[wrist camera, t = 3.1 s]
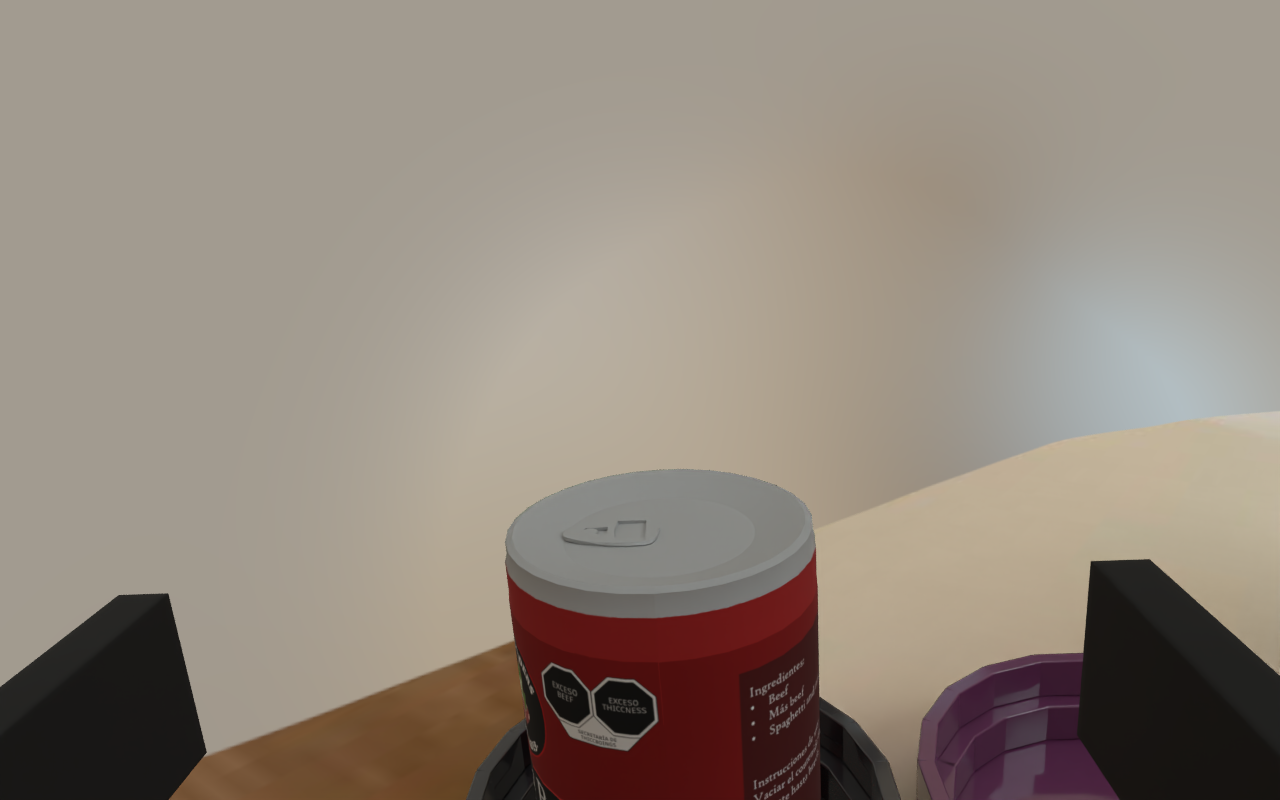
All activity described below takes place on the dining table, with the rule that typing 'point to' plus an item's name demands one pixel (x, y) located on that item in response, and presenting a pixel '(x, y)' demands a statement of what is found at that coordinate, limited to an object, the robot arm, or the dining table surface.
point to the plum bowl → (1010, 736)
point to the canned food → (668, 639)
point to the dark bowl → (849, 764)
